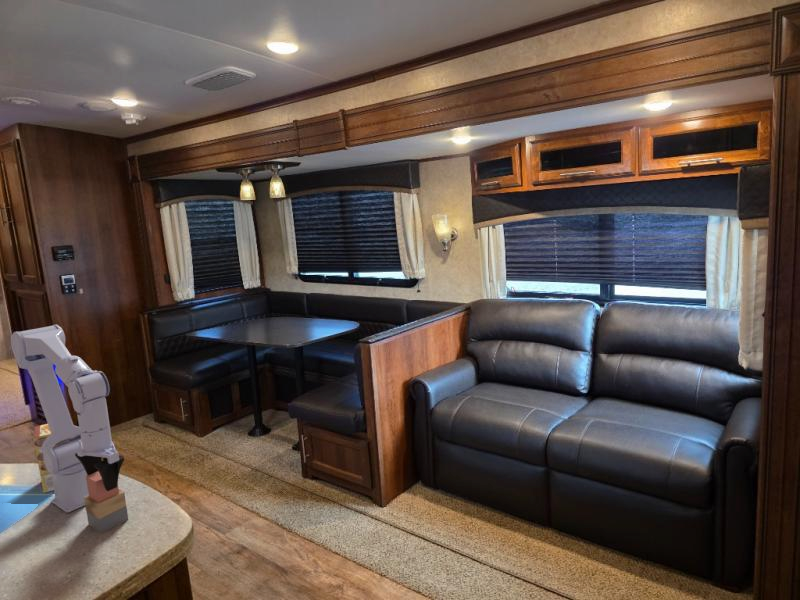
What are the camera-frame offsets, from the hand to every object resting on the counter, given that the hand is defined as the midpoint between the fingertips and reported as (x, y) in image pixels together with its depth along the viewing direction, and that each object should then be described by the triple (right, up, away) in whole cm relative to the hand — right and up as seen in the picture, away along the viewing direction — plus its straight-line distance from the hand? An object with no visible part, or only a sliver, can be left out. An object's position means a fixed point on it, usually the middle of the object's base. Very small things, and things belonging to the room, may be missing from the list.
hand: (103, 483), depth 117 cm
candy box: (-25, -7, +20) cm, 32 cm away
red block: (0, -3, 0) cm, 3 cm away
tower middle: (0, -6, +1) cm, 6 cm away
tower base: (0, -9, +2) cm, 10 cm away
